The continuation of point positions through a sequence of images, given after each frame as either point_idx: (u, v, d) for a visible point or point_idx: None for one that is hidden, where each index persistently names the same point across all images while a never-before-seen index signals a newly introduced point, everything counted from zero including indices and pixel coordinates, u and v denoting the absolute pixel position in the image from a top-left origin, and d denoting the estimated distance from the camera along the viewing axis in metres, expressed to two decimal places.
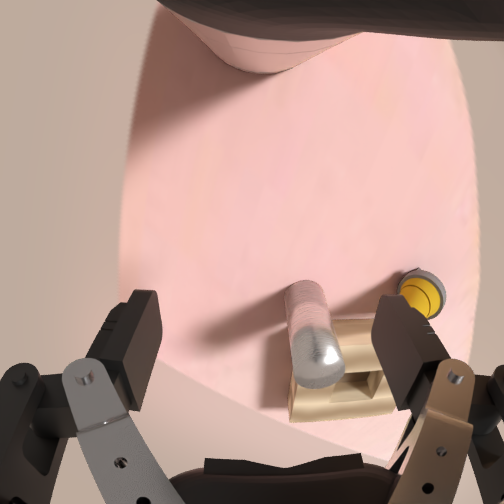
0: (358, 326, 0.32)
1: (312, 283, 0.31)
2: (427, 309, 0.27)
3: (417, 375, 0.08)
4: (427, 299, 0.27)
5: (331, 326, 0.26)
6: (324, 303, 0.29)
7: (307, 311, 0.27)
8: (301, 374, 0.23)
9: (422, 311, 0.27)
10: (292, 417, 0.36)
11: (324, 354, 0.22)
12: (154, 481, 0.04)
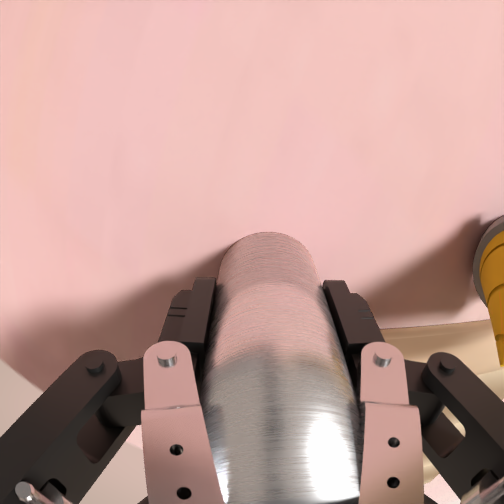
0: (392, 343, 0.14)
1: (284, 238, 0.12)
2: None
3: (345, 357, 0.09)
4: None
5: (335, 353, 0.07)
6: (314, 285, 0.10)
7: (256, 303, 0.09)
8: None
9: None
10: None
11: (301, 489, 0.04)
12: (203, 475, 0.04)
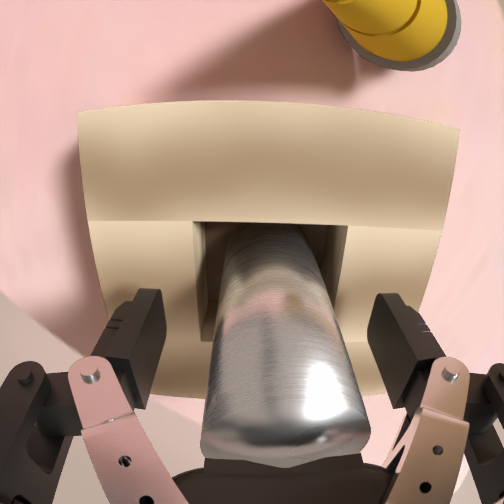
0: None
1: None
2: None
3: (412, 373, 0.08)
4: None
5: (326, 307, 0.09)
6: (309, 256, 0.12)
7: (260, 267, 0.10)
8: (226, 450, 0.06)
9: None
10: None
11: (299, 396, 0.06)
12: (158, 480, 0.04)
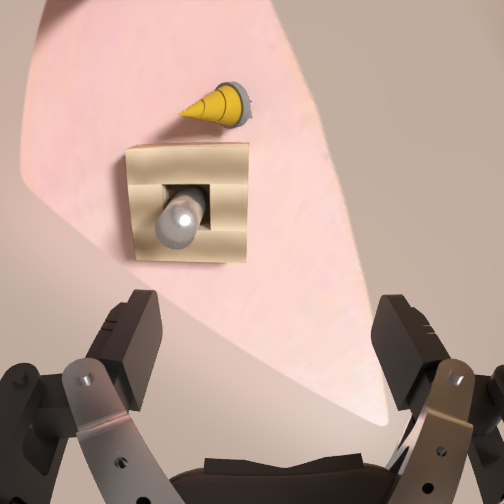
0: (181, 144, 0.36)
1: (195, 185, 0.38)
2: (221, 101, 0.31)
3: (417, 375, 0.08)
4: (221, 94, 0.31)
5: (194, 203, 0.33)
6: (198, 195, 0.36)
7: (179, 195, 0.34)
8: (160, 230, 0.31)
9: (214, 101, 0.30)
10: (136, 251, 0.39)
11: (174, 210, 0.30)
12: (154, 481, 0.04)
